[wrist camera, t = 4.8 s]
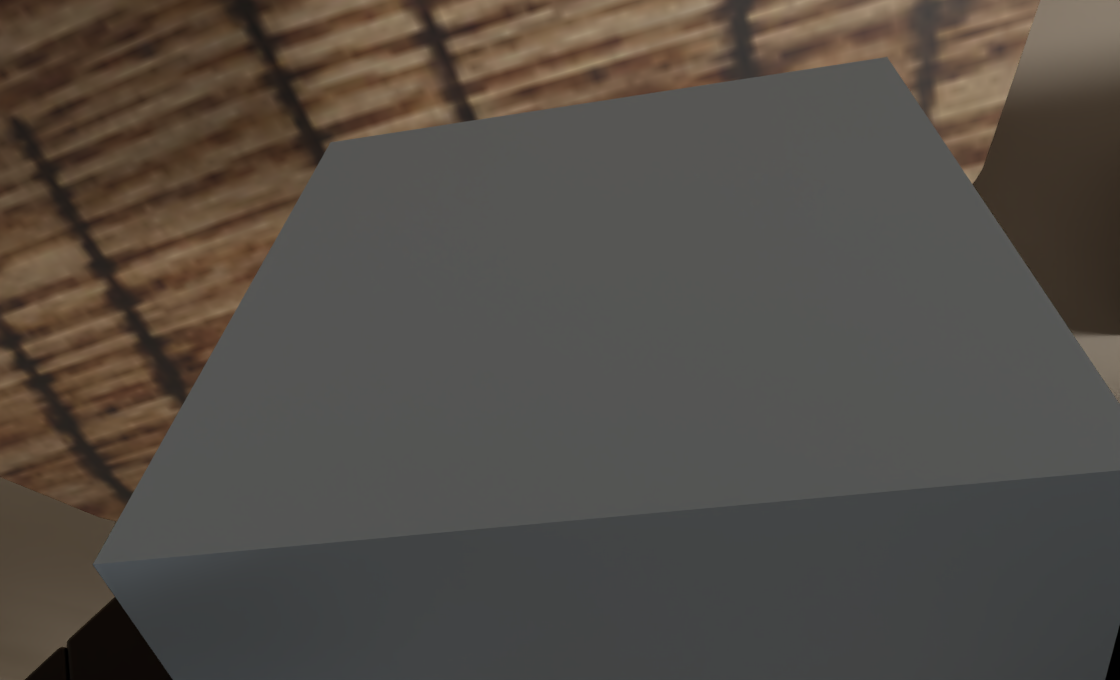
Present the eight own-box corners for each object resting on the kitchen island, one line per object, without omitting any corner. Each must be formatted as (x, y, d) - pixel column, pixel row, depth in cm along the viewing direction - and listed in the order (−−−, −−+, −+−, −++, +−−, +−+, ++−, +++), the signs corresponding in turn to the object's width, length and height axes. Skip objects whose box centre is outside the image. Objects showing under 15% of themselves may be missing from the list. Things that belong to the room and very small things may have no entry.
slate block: (878, 476, 11) (1032, 958, 7) (458, 515, 12) (378, 975, 8) (886, 57, 8) (1162, 466, 4) (331, 142, 9) (91, 563, 5)
